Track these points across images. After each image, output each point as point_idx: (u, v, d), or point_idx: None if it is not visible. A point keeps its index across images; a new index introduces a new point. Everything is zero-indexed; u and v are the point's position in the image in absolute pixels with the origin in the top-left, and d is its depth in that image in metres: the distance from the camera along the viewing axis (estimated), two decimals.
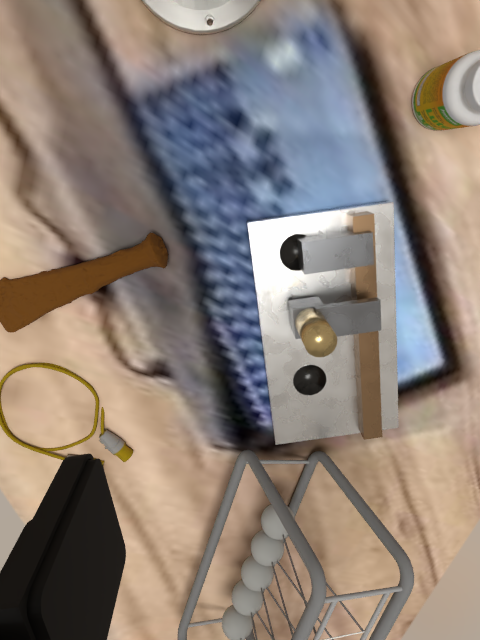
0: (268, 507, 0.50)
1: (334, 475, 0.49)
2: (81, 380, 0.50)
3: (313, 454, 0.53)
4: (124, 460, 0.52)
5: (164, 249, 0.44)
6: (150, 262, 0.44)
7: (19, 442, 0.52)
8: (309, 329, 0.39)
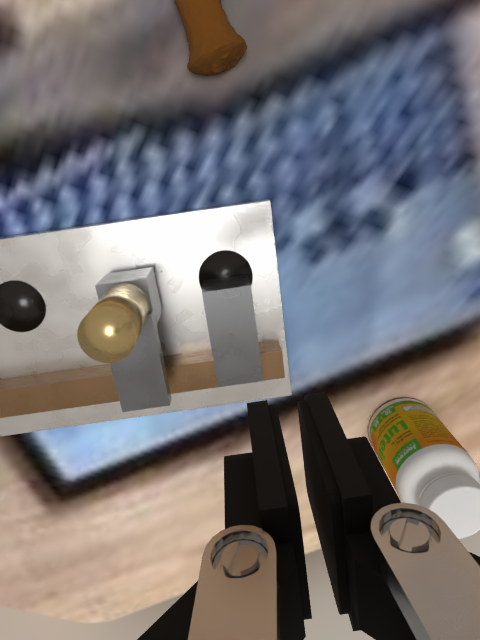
0: None
1: None
2: None
3: None
4: None
5: (219, 68, 0.27)
6: (199, 39, 0.25)
7: None
8: (126, 315, 0.23)
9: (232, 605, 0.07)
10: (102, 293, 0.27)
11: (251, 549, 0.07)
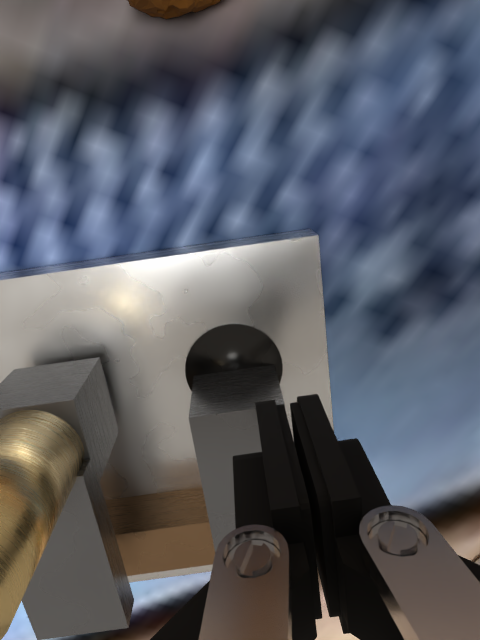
0: None
1: None
2: None
3: None
4: None
5: (188, 1, 0.13)
6: None
7: None
8: None
9: (244, 605, 0.07)
10: None
11: (263, 549, 0.07)
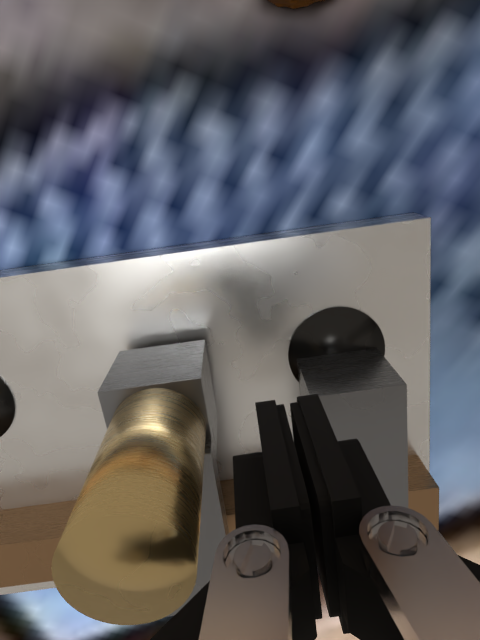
0: None
1: None
2: None
3: None
4: None
5: None
6: None
7: None
8: (176, 516, 0.09)
9: (244, 604, 0.07)
10: (112, 407, 0.13)
11: (264, 549, 0.07)
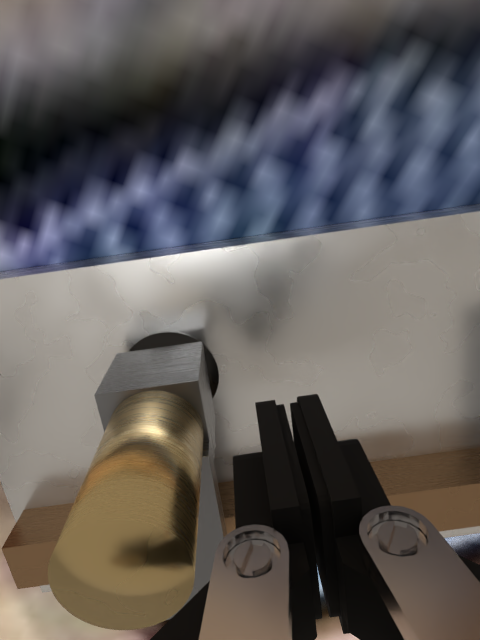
0: None
1: None
2: None
3: None
4: None
5: None
6: None
7: None
8: (173, 520, 0.09)
9: (244, 605, 0.07)
10: (109, 409, 0.13)
11: (263, 549, 0.07)
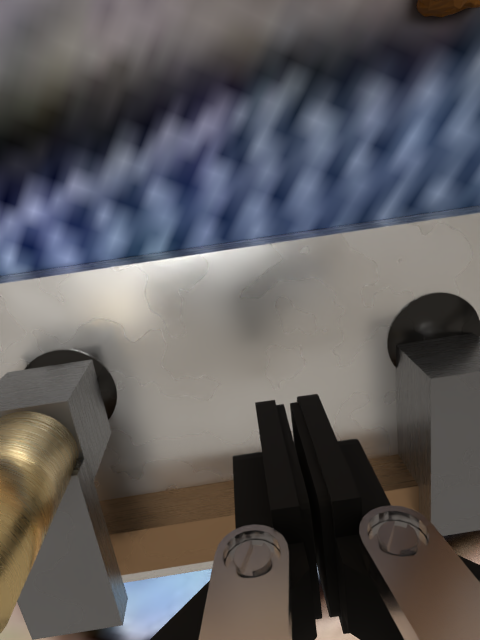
0: None
1: None
2: None
3: None
4: None
5: None
6: None
7: None
8: None
9: (244, 605, 0.07)
10: None
11: (263, 549, 0.07)
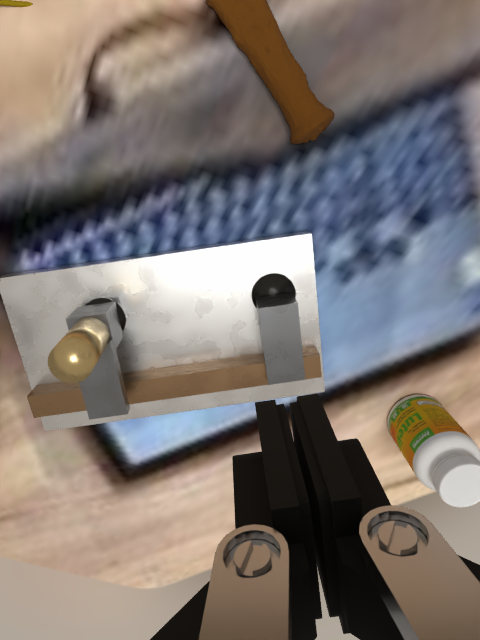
0: None
1: None
2: None
3: None
4: None
5: (316, 136, 0.34)
6: (300, 120, 0.33)
7: None
8: (86, 346, 0.29)
9: (244, 605, 0.07)
10: (71, 325, 0.34)
11: (263, 549, 0.07)
